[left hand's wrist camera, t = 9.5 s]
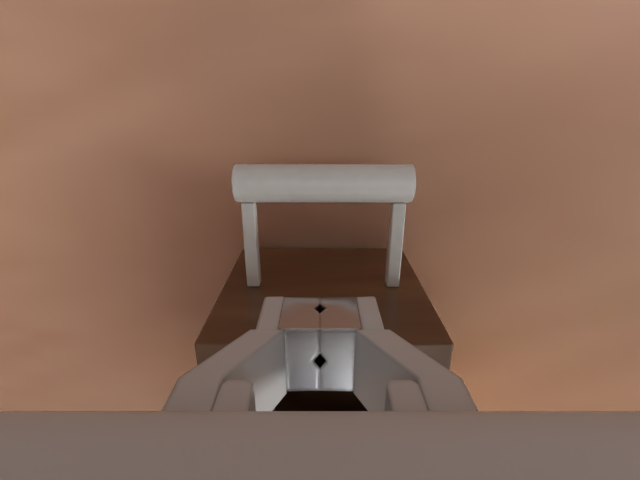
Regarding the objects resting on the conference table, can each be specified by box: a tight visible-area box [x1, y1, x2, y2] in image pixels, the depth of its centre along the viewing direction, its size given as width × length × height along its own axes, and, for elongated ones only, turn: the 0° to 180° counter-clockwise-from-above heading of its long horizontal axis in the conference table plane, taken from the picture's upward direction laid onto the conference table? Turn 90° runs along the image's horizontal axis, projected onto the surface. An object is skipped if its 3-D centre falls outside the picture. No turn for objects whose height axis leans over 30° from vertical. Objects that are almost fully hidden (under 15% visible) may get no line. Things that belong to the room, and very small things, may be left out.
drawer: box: [195, 164, 453, 411], centre depth 20 cm, size 24×10×9 cm, turn 0°
